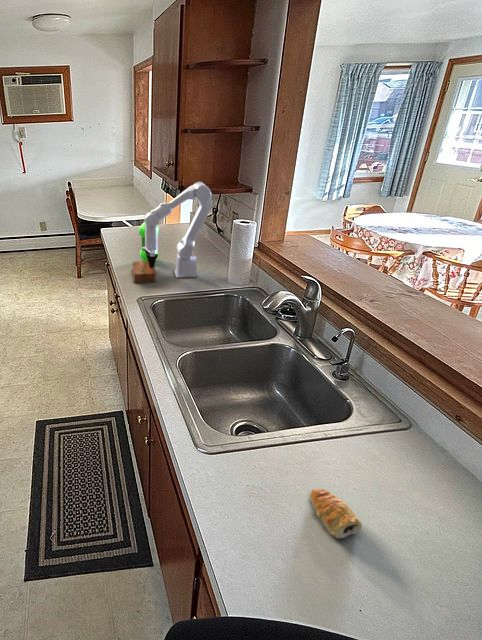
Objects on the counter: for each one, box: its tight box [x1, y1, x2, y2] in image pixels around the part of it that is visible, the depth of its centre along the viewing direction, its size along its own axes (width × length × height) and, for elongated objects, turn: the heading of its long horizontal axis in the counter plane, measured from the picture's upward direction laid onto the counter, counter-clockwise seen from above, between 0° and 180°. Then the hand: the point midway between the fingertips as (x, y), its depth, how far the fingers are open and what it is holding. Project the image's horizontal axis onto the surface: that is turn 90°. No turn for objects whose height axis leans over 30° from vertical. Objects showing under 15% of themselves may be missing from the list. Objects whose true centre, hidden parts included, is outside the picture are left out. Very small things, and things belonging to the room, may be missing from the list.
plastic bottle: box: [138, 213, 160, 262], centre depth 203 cm, size 10×10×25 cm
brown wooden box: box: [132, 268, 156, 284], centre depth 189 cm, size 10×16×4 cm, turn 0°
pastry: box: [309, 488, 362, 540], centre depth 77 cm, size 9×7×4 cm
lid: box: [132, 261, 158, 276], centre depth 187 cm, size 10×16×5 cm
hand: (151, 265), depth 188 cm, fingers closed on lid, 5 cm apart
